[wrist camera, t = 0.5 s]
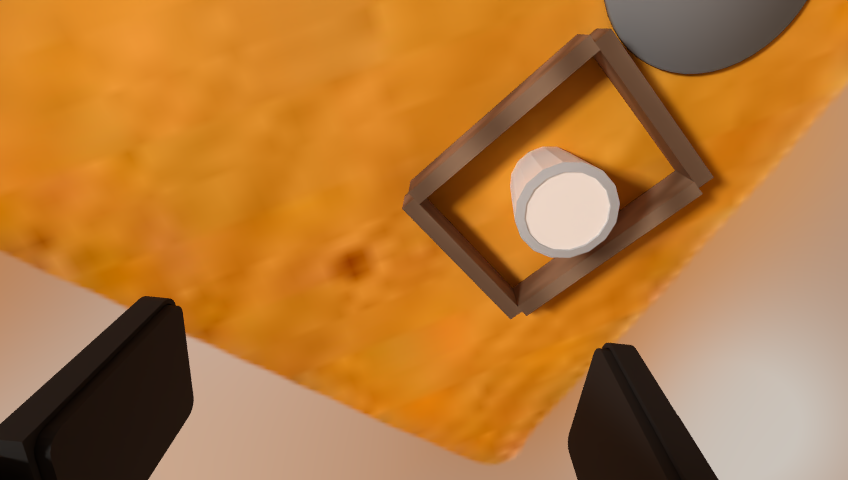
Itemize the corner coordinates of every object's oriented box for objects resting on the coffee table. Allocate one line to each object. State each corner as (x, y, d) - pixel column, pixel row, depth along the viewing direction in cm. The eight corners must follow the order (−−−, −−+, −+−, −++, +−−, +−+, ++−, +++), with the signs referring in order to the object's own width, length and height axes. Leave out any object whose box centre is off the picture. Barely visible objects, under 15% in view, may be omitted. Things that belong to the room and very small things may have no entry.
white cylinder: (572, 228, 39) (598, 268, 33) (492, 211, 39) (502, 248, 32) (602, 148, 36) (637, 174, 30) (516, 129, 36) (532, 151, 29)
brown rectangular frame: (591, 21, 33) (605, 21, 30) (697, 171, 37) (717, 183, 34) (399, 190, 38) (396, 203, 35) (510, 304, 42) (515, 323, 39)
